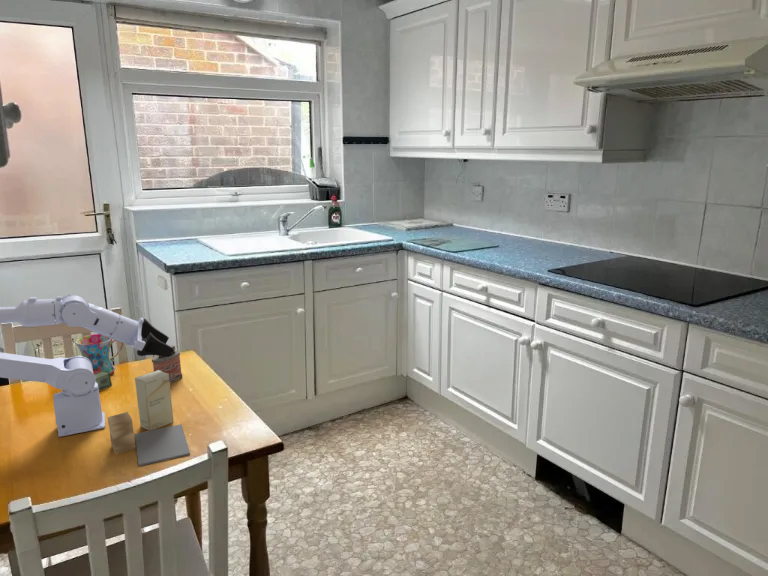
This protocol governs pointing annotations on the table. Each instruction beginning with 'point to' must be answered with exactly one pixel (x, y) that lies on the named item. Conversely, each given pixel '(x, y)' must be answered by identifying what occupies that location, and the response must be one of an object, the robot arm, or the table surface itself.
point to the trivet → (161, 444)
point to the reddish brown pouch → (169, 365)
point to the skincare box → (154, 400)
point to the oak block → (121, 433)
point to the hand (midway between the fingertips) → (169, 346)
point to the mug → (98, 352)
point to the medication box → (103, 380)
